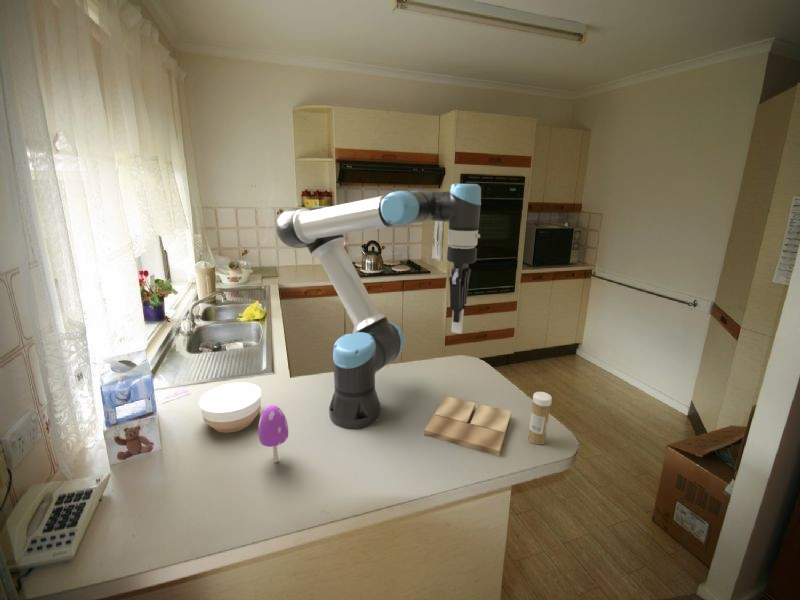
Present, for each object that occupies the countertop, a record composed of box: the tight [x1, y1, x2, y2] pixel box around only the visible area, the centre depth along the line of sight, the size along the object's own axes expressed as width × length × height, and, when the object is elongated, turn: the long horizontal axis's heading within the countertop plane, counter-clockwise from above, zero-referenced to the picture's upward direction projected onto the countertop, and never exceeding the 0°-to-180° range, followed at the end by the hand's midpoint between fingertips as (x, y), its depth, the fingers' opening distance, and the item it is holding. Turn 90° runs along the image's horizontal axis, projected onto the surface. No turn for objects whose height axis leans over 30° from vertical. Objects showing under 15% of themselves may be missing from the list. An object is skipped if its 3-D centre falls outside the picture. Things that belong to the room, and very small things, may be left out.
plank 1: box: [433, 395, 476, 424], centre depth 115 cm, size 10×10×1 cm
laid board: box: [423, 414, 506, 457], centre depth 105 cm, size 20×10×2 cm, turn 66°
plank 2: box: [469, 403, 512, 434], centre depth 111 cm, size 10×10×1 cm
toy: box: [257, 404, 289, 464], centre depth 92 cm, size 7×7×15 cm
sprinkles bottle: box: [527, 391, 553, 446], centre depth 102 cm, size 5×5×13 cm
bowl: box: [198, 381, 262, 434], centre depth 109 cm, size 16×16×8 cm
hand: (456, 331), depth 107 cm, fingers closed
